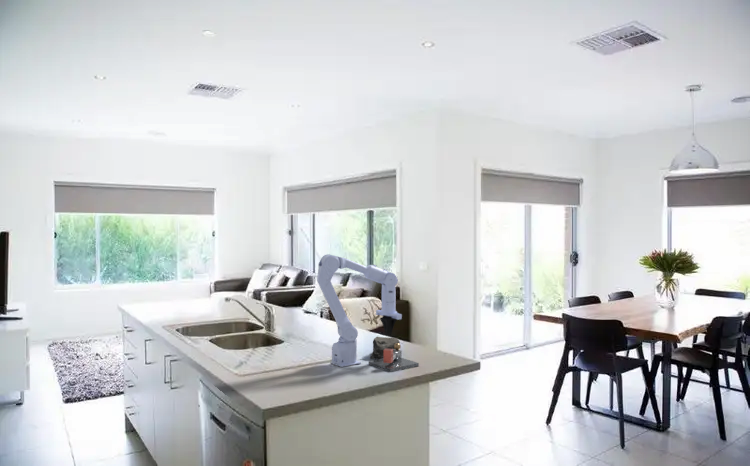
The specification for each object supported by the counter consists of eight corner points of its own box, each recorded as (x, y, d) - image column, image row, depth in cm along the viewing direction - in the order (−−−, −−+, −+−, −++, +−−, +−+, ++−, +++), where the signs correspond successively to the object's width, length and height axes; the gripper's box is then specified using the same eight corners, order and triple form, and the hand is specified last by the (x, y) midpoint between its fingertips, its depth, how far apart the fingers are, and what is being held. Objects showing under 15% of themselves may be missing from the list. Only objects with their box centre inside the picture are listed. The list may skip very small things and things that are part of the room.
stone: (388, 355, 210) (376, 333, 213) (372, 365, 213) (360, 343, 216) (406, 348, 226) (395, 328, 229) (391, 358, 230) (380, 338, 232)
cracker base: (390, 371, 194) (390, 353, 194) (368, 364, 206) (368, 346, 206) (419, 365, 203) (419, 348, 203) (396, 358, 214) (396, 341, 214)
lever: (392, 357, 210) (392, 343, 210) (399, 357, 209) (399, 344, 209) (383, 364, 199) (383, 350, 199) (391, 364, 198) (391, 350, 198)
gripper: (407, 302, 208) (407, 336, 208) (385, 298, 220) (385, 330, 220) (393, 304, 204) (393, 338, 204) (372, 300, 215) (371, 332, 216)
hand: (388, 334), depth 212 cm, fingers closed
